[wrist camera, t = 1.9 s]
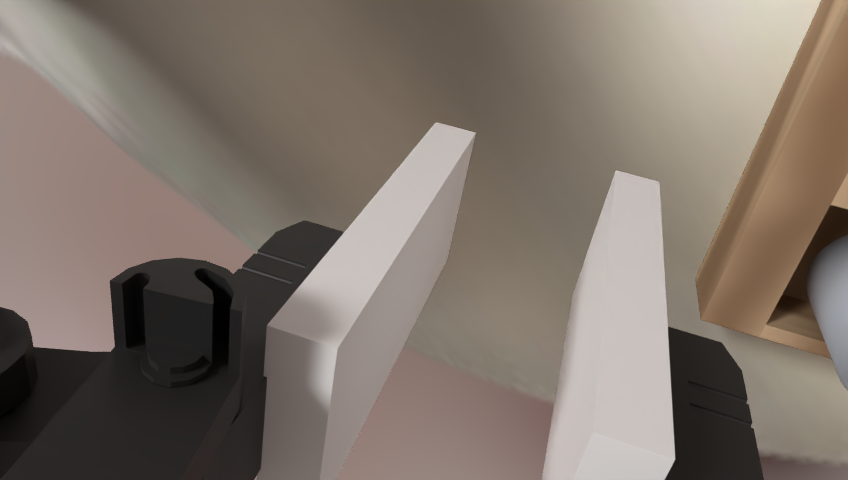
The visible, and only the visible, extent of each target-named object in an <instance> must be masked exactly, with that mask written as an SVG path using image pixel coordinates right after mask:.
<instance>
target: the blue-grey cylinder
mask: <svg viewBox="0 0 848 480" xmlns="http://www.w3.org/2000/svg"><path fill="white" fill-rule="evenodd" d="M805 290H806V294H807V297H808V299H809V302H810V304H811V307H812V309H813V312H814V315H815V317H816V320H817V322H818V325H819V327H820V330H821V332H822V335H823V338H824V340H825V343H826V345H827V348H828V350H829V353H830V355H831V358H832V361H833V363H834V366H835V368H836V371H837V373H838V376H839V378H840V380H841V382H842V384H843V385H844V387H845V388H846V389H847V390H848V235H846V236H844V237H841V238H839V239H837V240H835V241H833V242H832V243H830V244H829V245H827V246H826V247H824V248H823V249H822V250H821V251H820V252H819V253H818V254H817V255H816V256H815V257H814V259H813V260H812V262H811V263H810V265H809V267H808V270H807V273H806V276H805Z"/></svg>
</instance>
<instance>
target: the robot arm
mask: <svg viewBox="0 0 848 480" xmlns="http://www.w3.org/2000/svg"><path fill="white" fill-rule="evenodd" d="M475 135H476V133H475V132H471V131H468V130H464V129H460V128H456V127H453V126H449V125H445V124H441V123H438V122H436V123H435V124H434V125H433V126H432V127H431V129H430V130H429V131H428V132H427V133H426V135H425V136H424V137H423V138H422V139H421V141H420V142H419V143H418V144H417V145H416V147H415V148H414V149H413V150H412V151H411V153H410V154H409V155H408V156H407V157H406V159H405V160H404V161H403V162H402V163H401V165H400V166H399V167H398V168H397V169H396V171H395V172H394V173H393V174H392V175H391V177H390V178H389V179H388V180H387V181H386V183H385V184H384V185H383V186H382V187H381V189H380V190H379V191H378V192H377V194H376V195H375V196H374V197H373V198H372V200H371V201H370V202H369V203H368V204H367V206H366V207H365V208H364V209H363V210H362V212H361V213H360V214H359V215H358V216H357V218H356V219H355V220H354V221H353V222H352V224H351V225H350V226H349V227H348V228H347V230H346V231H345V232H342V231H339V230H335V229H332V228H329V227H325V226H322V225H319V224H315V223H312V222H309V221H302V222H300V223H297V224H295V225H292V226H290V227H287V228H285V229H283V230H280V231H278V232H276V233H275V234H274V235H273V236H272V237H271V238H270V239H269V240H268V241H267V242H266V243H265V244H264V245H263V246H262V247H261V248H260V249H259V250H258V253H257V254H253V255H252V256H251V257H250V258H249V259H248V260H247V261H246V262H245V263H244V264H243V267H242V269H238V270H237V271H236V272H235V273H234V274H232V273H231V272H230V271H229V270H228V269H226V268H223V267H221V266H218V265H215V264H213V263H210V262H207V261H203V260H194V259H186V258H172V259H163V260H153V261H149V262H146V263H143V264H140V265H137V266H134V267H131V268H128V269H127V270H125V271H124V272H122V273H121V274H119V275H118V276H116V277H115V278H113V279H112V280H110V288H111V300H112V301H111V302H112V314H113V327H114V340H115V347H114V349H113V350H112V351H111V352H88V351H75V350H61V349H50V348H37V347H33V342H32V336H31V332H30V329H29V325H28V322H27V321H26V320H25V319H23V318H22V317H20V316H19V315H18V314H17V313H15V312H14V311H13V310H9V309H5V308H2V307H0V480H254V479H255V477H256V476H257V480H336V479H337V477H338V475H339V474H340V471H341V469H342V467H343V466H344V464H345V461H346V460H347V458H348V455H349V454H350V451H351V450H352V448H353V446H354V444H355V442H356V440H357V438H358V436H359V434H360V432H361V430H362V428H363V426H364V424H365V422H366V420H367V418H368V416H369V414H370V412H371V410H372V408H373V406H374V404H375V402H376V400H377V398H378V396H379V394H380V392H381V390H382V388H383V386H384V384H385V382H386V380H387V378H388V376H389V374H390V372H391V370H392V368H393V367H394V364H395V362H396V360H397V359H398V357H399V355H400V353H401V351H402V349H403V347H404V345H405V343H406V341H407V339H408V337H409V335H410V333H411V331H412V329H413V327H414V325H415V323H416V321H417V319H418V317H419V315H420V313H421V311H422V309H423V307H424V305H425V303H426V301H427V299H428V297H429V295H430V293H431V291H432V289H433V287H434V285H435V283H436V281H437V279H438V277H439V275H440V273H441V271H442V269H443V267H444V265H445V263H446V261H447V260H448V256H449V251H450V247H451V242H452V238H453V233H454V229H455V224H456V220H457V215H458V211H459V207H460V202H461V198H462V193H463V189H464V184H465V180H466V175H467V171H468V166H469V162H470V157H471V153H472V149H473V144H474V140H475ZM746 402H747V394H746V389H745V384H744V379H743V374H742V370H741V369H740V368H739V366H738V365H737V363H736V362H735V361H734V359H733V358H732V356H731V355H730V354H729V352H728V351H727V350H726V348H725V347H724V345H723V344H722V343H721V342H718V341H714V340H711V339H708V338H704V337H701V336H698V335H694V334H691V333H688V332H684V331H681V330H678V329H674V328H671V327H668V323H667V306H666V288H665V270H664V253H663V235H662V218H661V200H660V183H659V182H658V181H654V180H651V179H647V178H643V177H639V176H636V175H632V174H628V173H625V172H621V171H617V170H616V171H615V174H614V177H613V180H612V183H611V186H610V188H609V191H608V194H607V197H606V200H605V203H604V206H603V209H602V212H601V214H600V217H599V220H598V223H597V226H596V229H595V232H594V235H593V237H592V240H591V243H590V246H589V249H588V252H587V255H586V258H585V261H584V263H583V266H582V269H581V272H580V275H579V278H578V281H577V284H576V286H575V289H574V292H573V295H572V300H571V306H570V312H569V318H568V324H567V330H566V336H565V342H564V348H563V354H562V360H561V366H560V372H559V378H558V384H557V390H556V396H555V402H554V409H553V415H552V421H551V427H550V433H549V439H548V445H547V451H546V457H545V463H544V469H543V475H542V480H764V478H763V473H762V469H761V463H760V458H759V453H758V448H757V443H756V439H755V434H754V429H753V428H751V424H752V419H751V414H750V409H749V404H746Z"/></svg>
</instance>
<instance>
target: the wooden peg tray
mask: <svg viewBox="0 0 848 480" xmlns="http://www.w3.org/2000/svg"><path fill="white" fill-rule="evenodd" d="M846 235H848V0H821V3H820V5H819V7H818V9H817V11H816V14H815V16H814V18H813V20H812V22H811V25H810V27H809V29H808V31H807V34H806V36H805V38H804V40H803V42H802V45H801V47H800V49H799V51H798V53H797V56H796V58H795V60H794V62H793V64H792V67H791V69H790V71H789V73H788V75H787V78H786V80H785V82H784V84H783V86H782V89H781V91H780V93H779V95H778V97H777V100H776V102H775V104H774V106H773V108H772V111H771V113H770V115H769V117H768V119H767V122H766V124H765V126H764V128H763V130H762V133H761V135H760V137H759V139H758V142H757V144H756V146H755V148H754V150H753V153H752V155H751V157H750V159H749V161H748V164H747V166H746V168H745V170H744V172H743V175H742V177H741V179H740V181H739V183H738V186H737V188H736V190H735V192H734V194H733V197H732V199H731V201H730V203H729V205H728V208H727V210H726V212H725V214H724V216H723V219H722V221H721V223H720V225H719V227H718V230H717V232H716V234H715V236H714V238H713V241H712V243H711V245H710V247H709V250H708V252H707V254H706V256H705V258H704V261H703V263H702V265H701V267H700V269H699V272H698V274H697V276H696V278H695V279H696V287H697V294H698V302H699V309H700V317H701V320H703V321H706V322H710V323H713V324H716V325H720V326H723V327H727V328H730V329H733V330H737V331H740V332H743V333H747V334H750V335H754V336H757V337H760V338H764V339H767V340H770V341H774V342H777V343H781V344H784V345H787V346H791V347H794V348H798V349H801V350H804V351H808V352H811V353H814V354H818V355H821V356H825V357H828V358H831V355H830V353H829V350H828V348H827V345H826V343H825V340H824V338H823V335H822V332H821V330H820V327H819V325H818V322H817V320H816V317H815V315H814V312H813V309H812V307H811V304H810V302H809V299H808V297H807V294H806V290H805V276H806V273H807V270H808V267H809V265H810V263H811V262H812V260H813V259H814V257H815V256H816V255H817V254H818V253H819V252H820V251H821V250H822V249H823V248H824V247H826V246H827V245H829V244H830V243H832V242H833V241H835V240H837V239H839V238H841V237H844V236H846ZM831 359H832V358H831Z"/></svg>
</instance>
